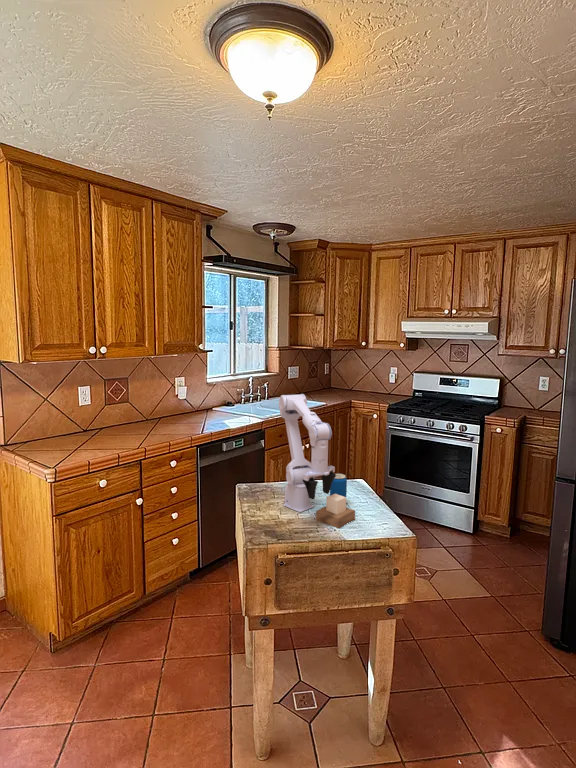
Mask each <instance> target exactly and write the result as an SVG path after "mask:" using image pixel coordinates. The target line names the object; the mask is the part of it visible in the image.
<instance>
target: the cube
mask: <svg viewBox="0 0 576 768" xmlns="http://www.w3.org/2000/svg"><path fill="white" fill-rule="evenodd" d="M325 504H326V506H325V507H326V511H329V512H332V513H334V514H340V513H342V512H344V511H346V508H347V496H346V497H344V496H341V495H338V494H333V495H331V496H330V495H329V496H326V503H325Z"/></svg>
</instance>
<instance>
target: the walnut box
mask: <svg viewBox="0 0 576 768" xmlns="http://www.w3.org/2000/svg"><path fill="white" fill-rule="evenodd" d="M315 512H316V513H315V520H316V521H317V522H319V523H322V524H325V525H328V526H330V527H333V528H335V527H336V529H340V528H342V526H343V527H344V525H345V526H346V525H348V524H350V523H352V522H354V521H355V520H356V510H355V509H352V508H349V507H346V511H344V512H342V513H340V514H334V513H332V512H329V511H326V506H324V507H322V508H320V509H317V510H316V511H315ZM353 520H354V521H353ZM351 521H352V522H351ZM349 522H350V523H349ZM347 523H348V524H347Z"/></svg>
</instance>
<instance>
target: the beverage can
mask: <svg viewBox="0 0 576 768" xmlns="http://www.w3.org/2000/svg"><path fill="white" fill-rule="evenodd" d="M335 474H336V477H335V478H334V480H333V482H332V484H331V487H330V491H329V496H331V495H333V494H338V495H341V496H344V497H346V498H347V493H348V492H347V489H348V488H347V485H348V483H347V482H348V479H347V476H346V475H345V474H343V473H335Z"/></svg>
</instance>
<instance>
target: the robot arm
mask: <svg viewBox="0 0 576 768" xmlns="http://www.w3.org/2000/svg"><path fill="white" fill-rule="evenodd" d="M307 401H308V400H307V397H306V395H305V394H304V393H300V394H281V395H280V396H279V399H278V408H279V413H280V418H282V419H284V423H285V428H286V434H287V435H286V436H287V439H288V445H289V450H290V451H289V452H290V457H291V460H290V462H289V463H288V464H287V465H286V467H285V471H286V474H285V477H286V479H285V480H286V482H287V484H286V485H285V489H284V503H283V505H284V507H285V508H289V509H291V510H294V511H295V512H298V513H303V512H305V511H307V510H310V509H312V508H315V506H314V504H310V499H311V500H315V498H316V490H317V485H318V483H319V482H318V480H315V478H318V477H321V481H322V492H323V493H324V494H326V495H330V487H331V484H332V482H333V480H334V478H335V477H336V474H337V473H335V472H336V471H335V470H336V467H335V466H333V465H329V462H328V461H329V440H331V438H332V434H333V432H332V428H331V425H330V423H328V422H323V421H322V420H321V418H320V416H318V415H317V413H316V412H315V411H311V410H310V408H309V407H308V405H307V403H308V402H307ZM300 417H302V418H301V419H302V424H303V426H304V427H305V428H306V429H307V431H308V437H309V443H310V446H311V456H310V457H311V461H309V460H308V459H306V458H305V455H304V449H303V443H302V438H301V433H300V428H299V423H298V422H299V421H298V420H299V418H300Z"/></svg>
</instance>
